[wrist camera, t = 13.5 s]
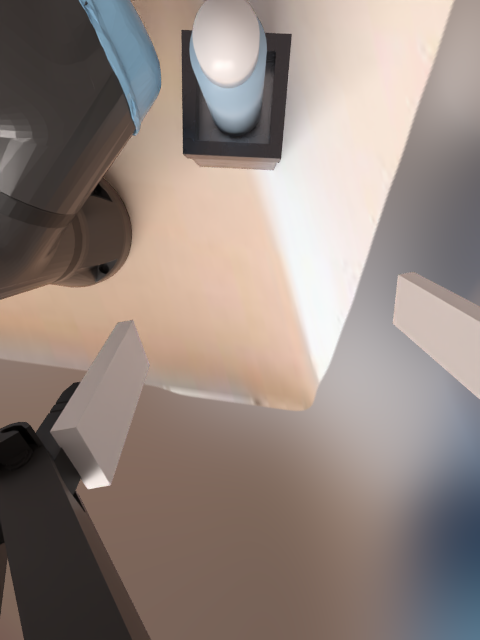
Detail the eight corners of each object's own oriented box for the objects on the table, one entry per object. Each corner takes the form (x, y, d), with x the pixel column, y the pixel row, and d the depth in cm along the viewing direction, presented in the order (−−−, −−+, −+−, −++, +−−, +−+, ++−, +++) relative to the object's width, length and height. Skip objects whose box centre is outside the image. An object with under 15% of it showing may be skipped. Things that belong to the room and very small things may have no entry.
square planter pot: (198, 168, 36) (183, 154, 28) (198, 74, 32) (181, 30, 25) (275, 171, 35) (280, 158, 28) (282, 77, 32) (291, 34, 25)
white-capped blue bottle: (209, 135, 29) (184, 85, 18) (210, 73, 27) (183, -22, 16) (259, 137, 29) (264, 89, 18) (263, 76, 27) (271, -18, 16)
